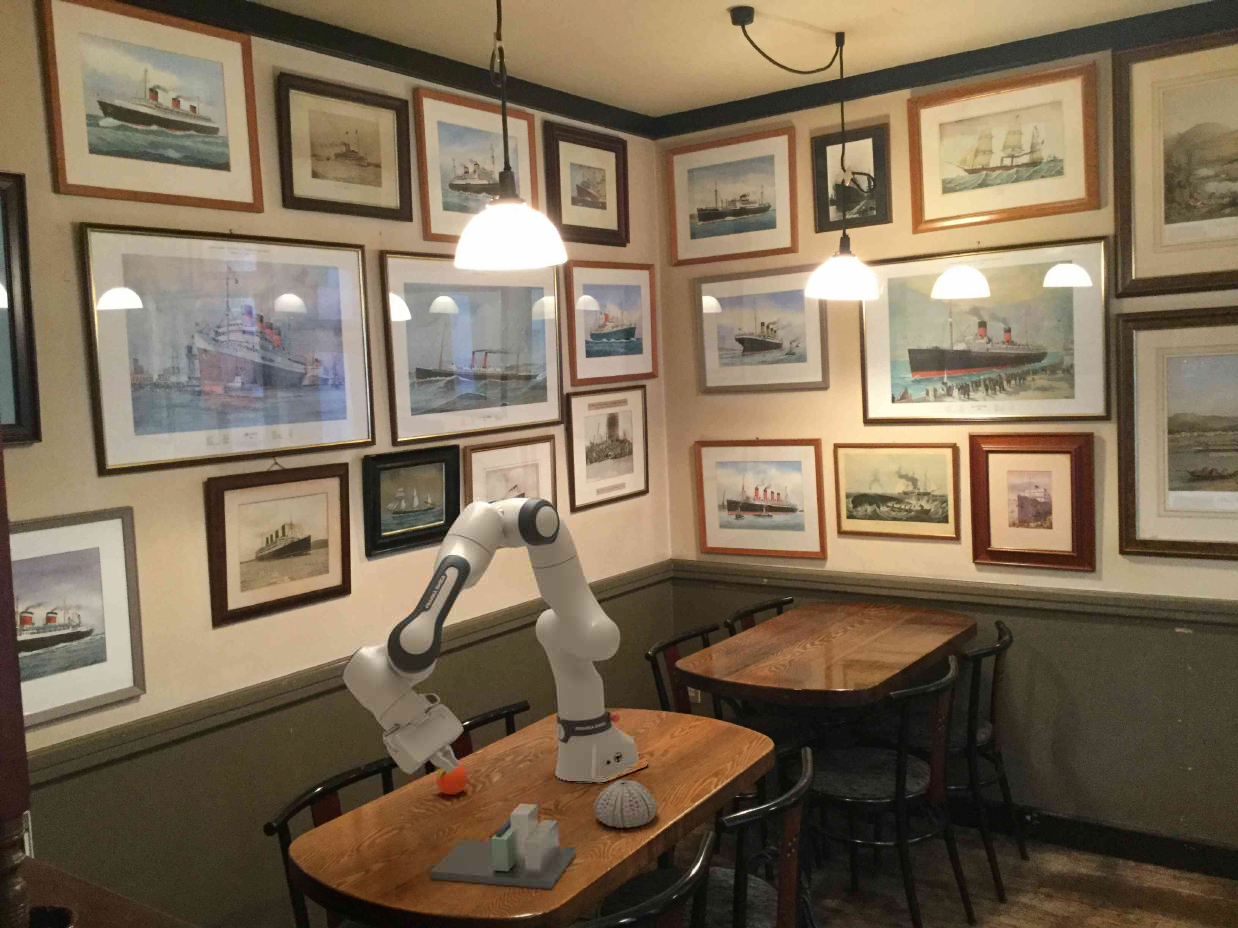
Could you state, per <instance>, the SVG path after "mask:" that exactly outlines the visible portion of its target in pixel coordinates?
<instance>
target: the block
mask: <svg viewBox="0 0 1238 928" xmlns="http://www.w3.org/2000/svg"><path fill="white" fill-rule="evenodd" d="M538 811H539V810H538V804H536V803H533V804H532V803H531V804H529V803H519V804H518V805H517V806H516V808H515V809H513V811H512V812H510V815H509V817H510V818H511V834H512V850H513V866H517V867H525V852H524V841H525V840H526V839H527V838H528V837H529V836H530V834H531V833H532V832H533V831H534V830H535V829H536V827H537V826H538V825H539V812H538Z"/></svg>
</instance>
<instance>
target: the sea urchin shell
mask: <svg viewBox="0 0 1238 928" xmlns="http://www.w3.org/2000/svg"><path fill="white" fill-rule="evenodd" d="M656 802H657V801H656V800H655V796H653V795H652V792H650V790H648V788H646V787H645V786H644V785H643V784H642V783H640V782H638V781H637V780H632V779H631V780H626V779H625V780H624V779H619V780H616V781H614V782H613V783H611V784H610V785H609V786H608V785H607V786H606V788H603V790H602V791H600V792H599V795H598V796H597V797H596V800H595V801H594V803H593V810H594V811H593V814H594V815H595V817H596V818H597V819H598V821H600V822H601V823H602V824H605V825H607V826H609V827H616V828H618V829H623V828H627V829H631V828H630V827H633V828H638V827H637V826H640V825H642V826H643V825H644V826H645V824H648V823H649V822H652V820H653V819H654V818H655V817H656V814H657V810H658V804H657V803H656ZM640 827H641V826H640Z"/></svg>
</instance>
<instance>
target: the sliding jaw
mask: <svg viewBox="0 0 1238 928" xmlns="http://www.w3.org/2000/svg"><path fill="white" fill-rule="evenodd" d="M490 842H491V843H492V859H493V870H498V871H509V870H510V869H511V867H512V866H513V850H512V834H511V818H510V816H509V817H508V818H507V819H506V820H505V821H504V822H503V823H502V824H501V825H500V826H499V827H498V828H497V829H496V830H495V833H494V835H493V836H492V837H491V839H490Z"/></svg>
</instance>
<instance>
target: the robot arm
mask: <svg viewBox="0 0 1238 928" xmlns="http://www.w3.org/2000/svg"><path fill="white" fill-rule="evenodd" d="M523 547H525V548H526V550H527V553H528V557H529V561H530V564H531V567H532V571H533V574H534V578H535V581H536V585H537V587H538V591H539V594H540V597H541V598H542V599H543V601H544V602H546V604H547V605H548V606H549V607H550V608H549V609H546V610H545V611H543V612H542V613H540V616H539V617H538V619H537V621H536V623H535V636H536V639H537V640H538V642H539V643H540V644H541V646H542V648H543V649H544V650H545V653H546V655H547V658H548V661H549V664H550V668H551V670H552V673H553V676H554V681H555V688H556V697H557V711H558V712H557V715H556V725H557V726H556V734H557V737H558V738H557V739H558V753H557V754H558V755H557V761H556V762H557V763H556V766H555V772H554V774H555V777H556V776H557V779H559V778H560V779H559V780H562V779H563V780H562V781H565V780H568V781H567V782H569V781H595V782H602V781H605V780H608V779H610V778H612V777H615V776H617V775H619V774H621V773H623V772H625V771H627V770H629V769H632V768H629V767H633V764H636V763H637V762H639V757H638V753H639V752H638V747H637V744H636V742H635V739H633V737H632V736H630V735H629V734H628V733H626V732H624V731H622V730H621V729H619V727H616V726H615V725H613V723H618V722H619V721H620V720H621V719H620V717H621V716H620V715H619V714H618V713H616V712H610V711H608V710H605V699H604V698H605V695H604V682H603V678H602V676H601V675H600V674H599V672H598V671H597V669H596V667H595V665H594V664H593V662H598V661H599V662H600V661H606V660H609V659H610V658H612V657H613V656H614V655H615V654H616V653H617V651H618V650H619V646H620V644H621V634H620V633H621V632H620V629H619V627H618V626H617V624H616V622H614V621H613V620H612V619H611V618H609V616H608V615H607V614H606V613H605V611H604V609H603V608H602V607H601V605H600V604H599V602H598V601H597V598H596V597H595V595H594V593H593V591H592V590H591V588H590V586H589V584H588V582H587V580H586V579H587V578H586V576H585V573H584V571H583V568H582V563H581V561H580V557H579V555H578V551H577V547H576V545H575V541H574V539H573V537H572V534H571V532H570V529H569V528H568V525H567V524H566V522H565V521H564V518H563V517H562V516H561V515H560V514H559V513H558V510H557V509H556V507H555V506H554V504H553V503H552V502H550V501H549V500H547V499H544V498H541V497H531V498H530V497H529V498H528V497H513V498H509V499H501V500H492V501H489V502H486V501H474V502H471V503H470V504H468V505H467V506H466V507H464V509H463V510H462V511H461V512H460V513H459V515H458V517H456V519H455V521H454V522H453V524H452V525H451V527H450V528H449V530H448V532H447V533H446V535H445V537H444V539H443V541H442V543H441V544H440V546H439V550H438V552H437V555H436V558H435V562H434V565H433V575H432V577H431V580H430V581H429V583H428V584H427V587H426V588H425V590H424V592H423V593H422V596H421V597H420V599H419V601H418V603H417V605H416V606H415V608H414V610H413V611H412V612H411V613H410V614H409V615H408V616H406V617H405V618H403V619H402V620H401V621H399V623H398V624H397V625H396V626H394V627H393V628H392V629H391V632H390V634H389V635H388V640H387V642H383V643H380V644H375V645H363V646H361V647H360V648H358V649H357V650H356V651H355V652H353V654H352V656H351V657H350V658H349V659H348V660H347V662H346V664H345V666H344V668H343V671H342V672H343V673H342V679H343V682H344V683H345V686H346V687H347V689H348V690H349V691H350V692H351V693H352V695H353V696H354V697H355V699H357V701H358V702H359V703H360V704H361V705H362V706H363V707H364V708H365V709H367V710H369V712H371V713H372V714H373V715H374V717H375V719H376V721H377V722H378V723H379V724H380V725H381V727H382V728H383V729H384V730H385V731H384V732H383V733H382V741H383V743H384V745H385V746H386V749H387V751H388V754H389V755H390V756H391V757H392V759H393V760H394V762H395V763H396V764H397V766H398V767H399V768H400V770H402V772H404V773H405V774H408V775H411V774H413V773H415V772H416V771H418V769H420V768H421V767H423V765H424V764H427V762H428V761H430V762H431V764H432V765H434V766H436V767H438V768H440V769H441V768H443V769H444V771H445V772H446V773H447V774H450V773H451V772H452V771H453V770H455V769H456V768H457V767H458V766H459V765H460V764H461V763H460V761H459V760H458V759H457V758H456V757H455V754H454V750H453V749H452V747H451V744H452V743H453V742H454V741H456V740H457V739H458V738H459V737H460V735H462V733H463V732H464V726H463V724H462V723H461V721H460V720H459V719H458V718H457V716H456V715H455V714H454V713H453V712H452V711H451V710H450V709H449V707H447V706H446V705H444V704H443V703H440V702H441V699H440V697H439V696H438V695H437V694H436V693H418V694H417V692H416V691H414V689H413V687H415V686H416V685H418V684H419V683H421V682H423V681H424V680H426V679H427V678H428V677H430V675H432V673H433V671H434V670H435V667H436V663H437V660H438V658H439V657H438V656H439V654H440V652H441V648H442V632H443V631H442V630H443V628H444V627H443V626H444V624H445V622H446V620H447V618H448V616H449V615H450V612H451V611H452V608H453V606H454V604H455V603H456V602H457V601H456V600H457V599H458V597H459V595H460V594H461V593H462V592H463V591H464V590H467V589H471V588H474V587H475V586H476V584H478V582H480V580H481V579H482V578H483V575H484V574H485V573H486V571H487V569H488V568H489V567H490V564H491V563H492V560H493V558H494V556H495V554H496V552H497V550H498V548H510V549H518V548H523ZM612 722H613V723H612ZM634 766H637V765H634ZM627 767H628V768H627Z"/></svg>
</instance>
